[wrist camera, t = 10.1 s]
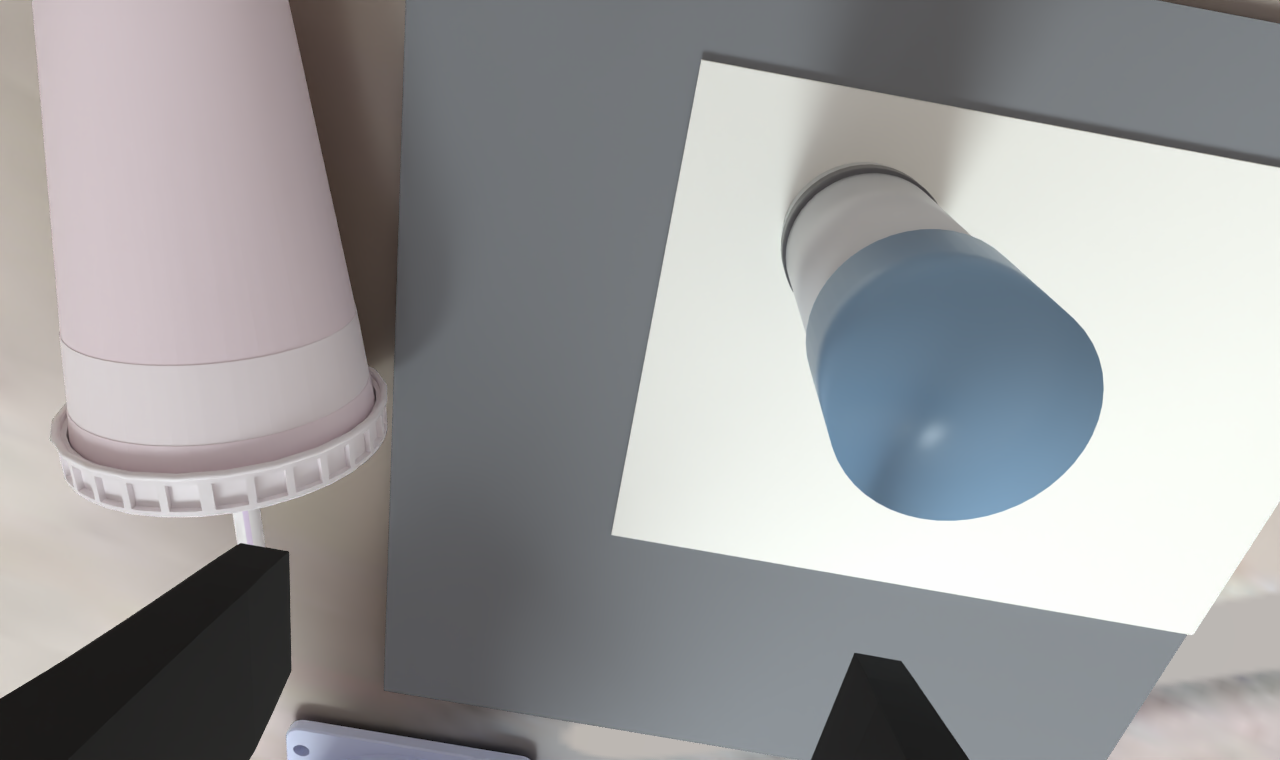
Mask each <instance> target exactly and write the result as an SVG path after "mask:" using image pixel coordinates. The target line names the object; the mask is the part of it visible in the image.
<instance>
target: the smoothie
mask: <svg viewBox="0 0 1280 760" xmlns="http://www.w3.org/2000/svg"><path fill="white" fill-rule="evenodd" d="M32 7H33V19H34V31H35V43H36V55H37V67H38V78H39V90H40V102H41V114H42V126H43V137H44V149H45V161H46V173H47V185H48V197H49V208H50V220H51V232H52V244H53V256H54V267H55V279H56V291H57V303H58V315H59V327H60V332H59V337H60V346H61V355H62V365H63V374H64V383H65V393H66V403H65V405H64V406H63V407H62V408H61V409H60V411H59V412H58V413H57V414H56V415H55V417H54V418H53V419H52V424H51V432H50V441H51V442H52V444H53V445H54V446H55V448H56V449H57V451H58V454H59V458H60V462H61V466H62V470H63V474H64V478H65V480H66V482H67V484H68V485H69V486H70V487H71V489H72V490H73V491H74V492H76V493H77V494H78V495H80V496H81V497H83V498H84V499H86V500H88V501H90V502H92V503H95V504H97V505H99V506H102V507H104V508H108V509H112V510H116V511H120V512H124V513H128V514H135V515H144V516H154V517H204V516H213V515H222V514H232V515H233V521H234V527H235V533H236V539H237V545H238V544H240V543H243V544H249V545H255V546H260V547H266V545H265V539H264V532H263V525H262V519H261V512H260V508H263V507H268V506H272V505H275V504H278V503H282V502H285V501H288V500H292V499H295V498H298V497H302V496H304V495H306V494H309V493H311V492H314V491H316V490H319V489H321V488H323V487H326V486H328V485H330V484H332V483H334V482H336V481H337V480H339V479H341V478H343V477H344V476H346V475H348V474H350V473H352V472H353V471H354V470H356V469H357V468H358V467H359V466H361V465H362V464H363V463H365V462H366V461H367V460H368V459H370V458H371V456H372V455H373V454H374V453H375V452H376V451H377V450H378V448H379V447H380V446H381V444H382V443H383V441H384V438H385V436H386V432H387V412H386V403H387V384H386V383H385V381H384V380H383V378H382V377H381V376H380V374H379V373H378V371H377V370H375V369H373V368H372V367H370V366H368V364H367V359H366V354H365V349H364V344H363V339H362V334H361V329H360V324H359V319H358V314H357V309H356V305H355V302H354V298H353V293H352V289H351V284H350V279H349V275H348V270H347V266H346V261H345V257H344V252H343V247H342V243H341V238H340V234H339V229H338V225H337V220H336V215H335V211H334V206H333V202H332V197H331V193H330V188H329V183H328V179H327V174H326V170H325V165H324V161H323V156H322V151H321V147H320V142H319V138H318V133H317V129H316V124H315V119H314V115H313V110H312V106H311V101H310V97H309V92H308V87H307V83H306V78H305V74H304V69H303V65H302V60H301V55H300V51H299V46H298V42H297V37H296V33H295V28H294V23H293V19H292V14H291V10H290V5H289V1H288V0H32Z"/></svg>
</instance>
